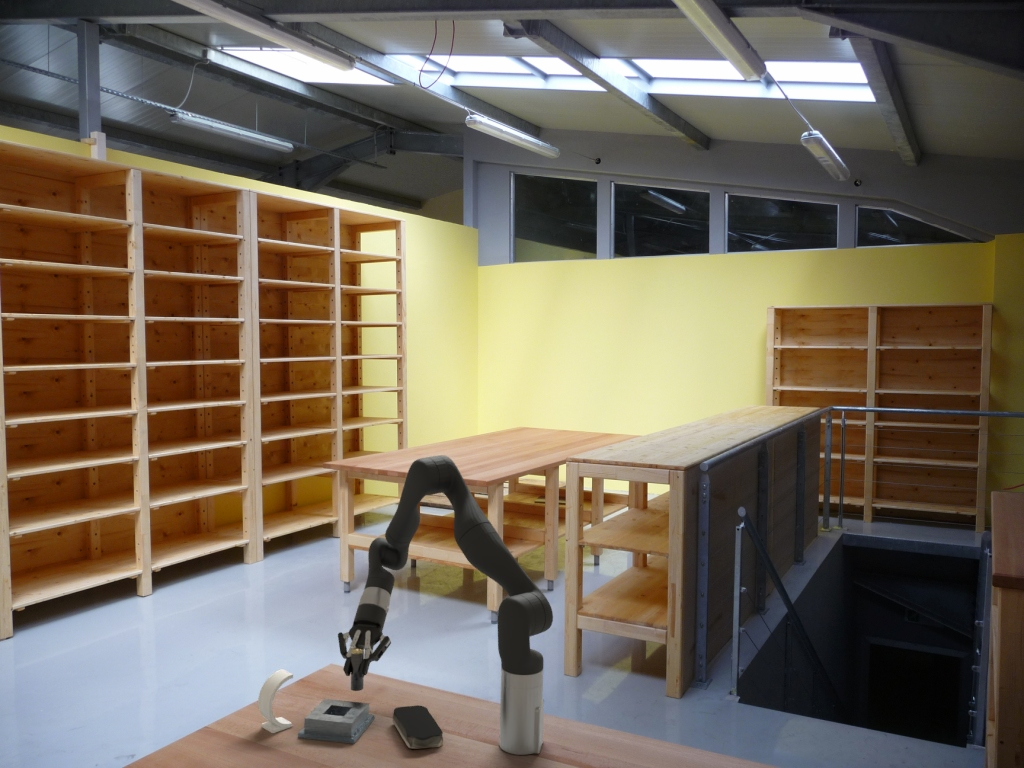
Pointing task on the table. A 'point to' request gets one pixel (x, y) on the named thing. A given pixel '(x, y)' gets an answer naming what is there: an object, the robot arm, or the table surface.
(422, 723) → the black sponge
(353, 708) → the square hole socket
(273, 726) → the headphone stand
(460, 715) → the table surface
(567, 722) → the table surface
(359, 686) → the brass pin
